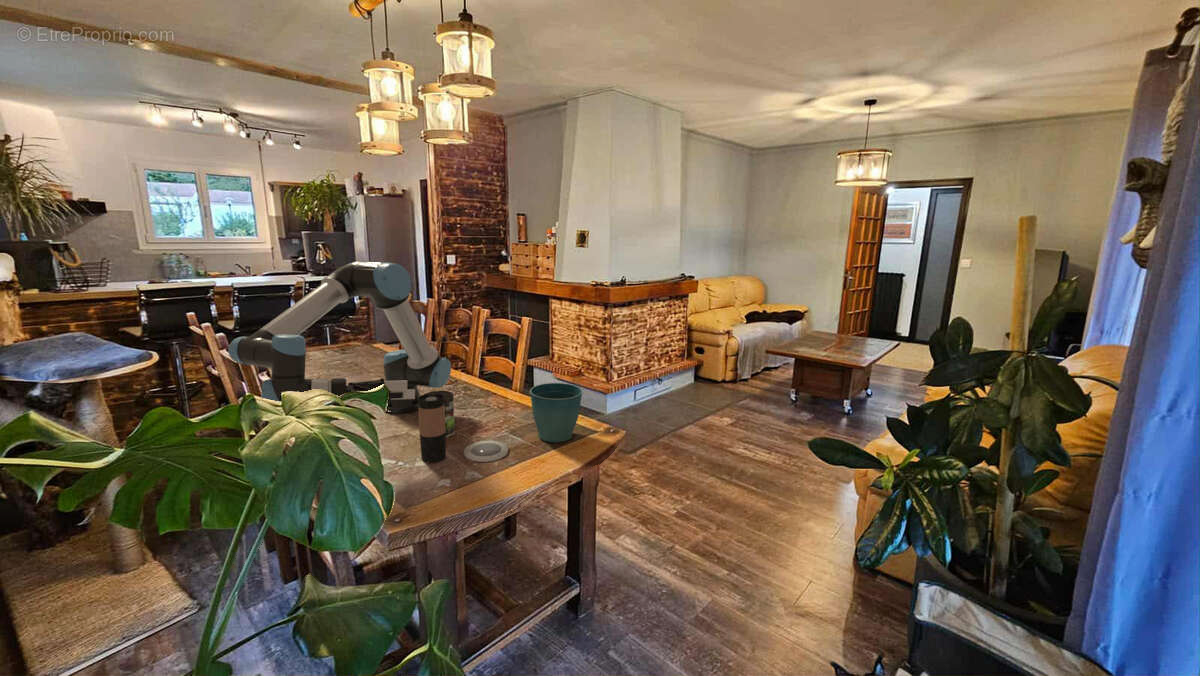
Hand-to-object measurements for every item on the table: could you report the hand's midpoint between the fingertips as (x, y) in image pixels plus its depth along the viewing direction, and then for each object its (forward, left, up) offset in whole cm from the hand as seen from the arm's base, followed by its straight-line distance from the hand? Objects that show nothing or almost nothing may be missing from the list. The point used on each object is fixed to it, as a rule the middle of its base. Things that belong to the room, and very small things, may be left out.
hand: (410, 389), depth 143 cm
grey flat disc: (+3, +22, -23) cm, 31 cm away
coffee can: (-17, +9, -23) cm, 30 cm away
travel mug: (+2, +6, -23) cm, 24 cm away
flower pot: (-2, +47, -23) cm, 52 cm away
